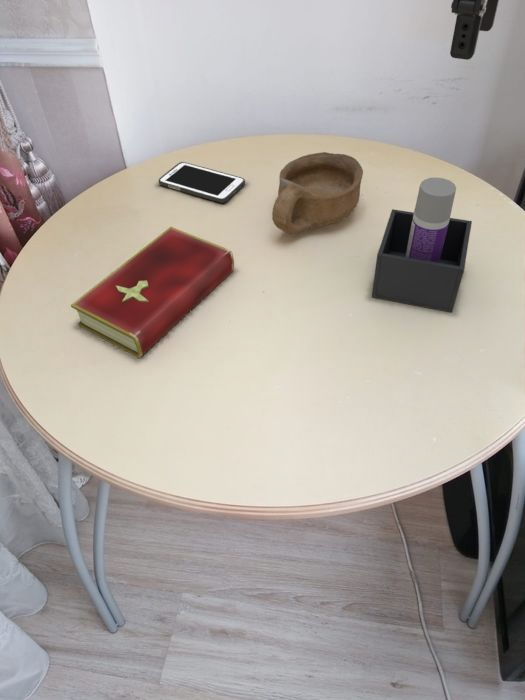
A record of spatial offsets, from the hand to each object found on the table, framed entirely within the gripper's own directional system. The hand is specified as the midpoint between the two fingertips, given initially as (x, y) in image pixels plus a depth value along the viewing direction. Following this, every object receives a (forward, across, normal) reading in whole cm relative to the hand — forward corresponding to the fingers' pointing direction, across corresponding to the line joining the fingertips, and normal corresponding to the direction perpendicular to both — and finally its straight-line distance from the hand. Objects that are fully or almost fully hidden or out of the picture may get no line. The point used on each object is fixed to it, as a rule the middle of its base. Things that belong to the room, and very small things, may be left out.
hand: (471, 42), depth 58 cm
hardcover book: (+33, -18, +34) cm, 50 cm away
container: (+32, +1, +1) cm, 32 cm away
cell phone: (+32, +11, +44) cm, 56 cm away
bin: (+33, +1, +1) cm, 33 cm away
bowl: (+33, +9, +21) cm, 40 cm away
